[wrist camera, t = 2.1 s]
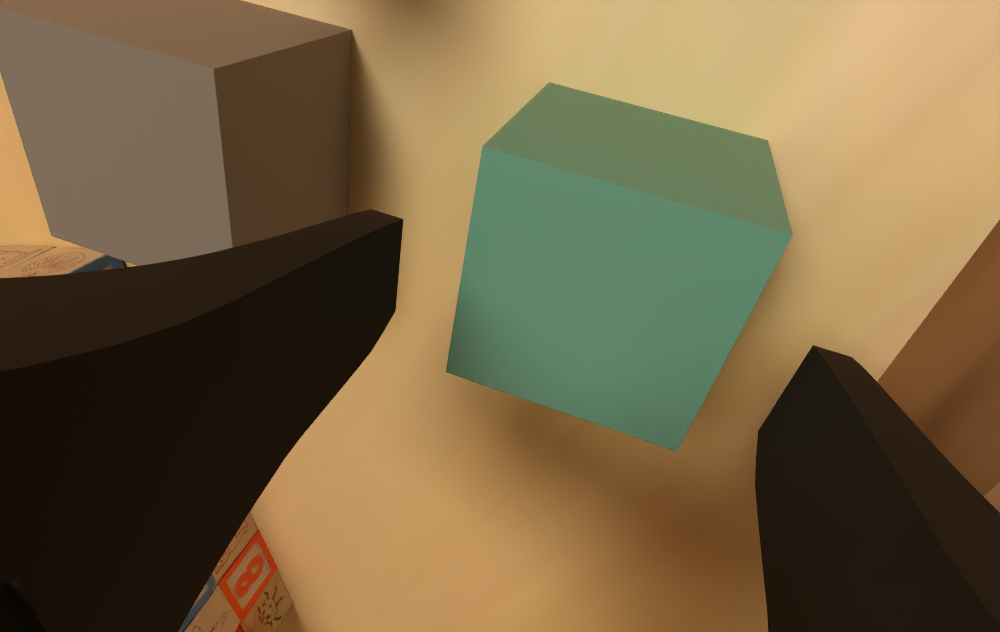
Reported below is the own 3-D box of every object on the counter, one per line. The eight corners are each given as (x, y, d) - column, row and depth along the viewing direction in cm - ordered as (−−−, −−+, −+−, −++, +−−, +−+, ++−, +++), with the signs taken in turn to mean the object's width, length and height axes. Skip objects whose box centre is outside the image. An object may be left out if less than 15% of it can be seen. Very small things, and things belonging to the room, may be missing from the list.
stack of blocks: (-2, 239, 23) (-549, 479, 13) (121, 243, 21) (-412, 528, 11) (205, 580, 34) (-3, 849, 24) (297, 603, 32) (112, 905, 22)
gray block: (353, 29, 14) (213, 68, 10) (348, 213, 17) (238, 300, 13) (174, -19, 15) (-22, 1, 11) (199, 167, 18) (51, 236, 14)
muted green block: (767, 139, 13) (793, 234, 9) (685, 319, 16) (676, 451, 12) (549, 81, 14) (482, 145, 10) (510, 264, 16) (445, 371, 12)
